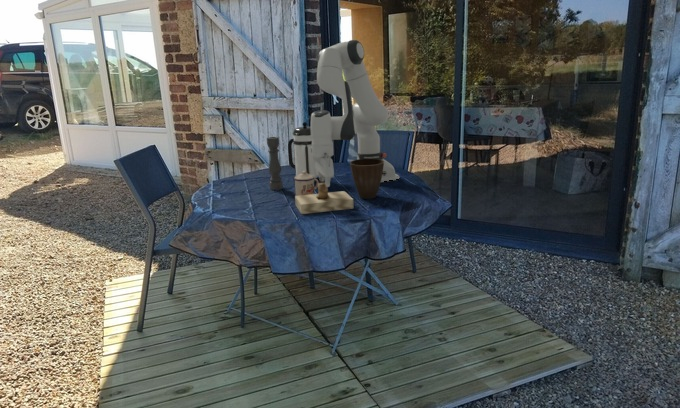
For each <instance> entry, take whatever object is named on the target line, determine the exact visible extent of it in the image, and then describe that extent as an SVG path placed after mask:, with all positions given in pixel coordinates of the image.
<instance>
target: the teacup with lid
mask: <svg viewBox="0 0 680 408" xmlns="http://www.w3.org/2000/svg"><path fill="white" fill-rule="evenodd" d="M294 177H295V178H294ZM294 177H293V178H294V180H295V181H294V180H293V181H294V184H295V185H294V191H295V196H300V195H310V194H315V190H317V189H318V183H320V181H319V180H318V179H317V178H314V176H313V175H309V174H308V173H306V171H302V173H301V174H299V175H298V176H294ZM315 182H316V184H315Z"/></svg>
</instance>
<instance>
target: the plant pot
mask: <svg viewBox="0 0 680 408" xmlns="http://www.w3.org/2000/svg"><path fill="white" fill-rule="evenodd" d="M349 164H350V170H351V175H352V178H353V183H354V185H355V189H356V190H357V194H358V196H359V198H360V199H363V200H364V199H365V200H366V199H367V200H370V199H375V198H377V195H378V192H379V189H380V187H381V183H382V182H381V178H382V173H383V166H384V161H383V160H380V159H358V160H357V159H354V160H351V161H350V163H349Z"/></svg>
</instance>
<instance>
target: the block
mask: <svg viewBox="0 0 680 408" xmlns="http://www.w3.org/2000/svg"><path fill="white" fill-rule="evenodd" d="M294 200H295V201H294V202H295V205H294V206H295V207H296V208H297V209H298V211H299V213H300V214H301V215H305V214H315V213H323V212H331V211H332V212H333V211H341V210H343V211H344V210H350V209H351V210H352V209H354V198H352V197H351V196H350V194H348V193H347V192H346V191H345V190H342V191H332V192H328V199H322V200H319V196H318V193H314V194H310V195H300V196H296V195H295V196H294Z"/></svg>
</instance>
